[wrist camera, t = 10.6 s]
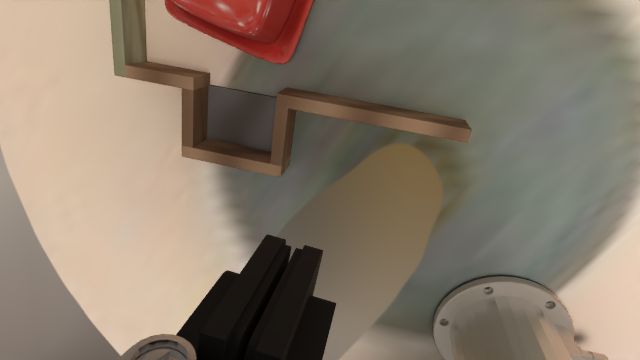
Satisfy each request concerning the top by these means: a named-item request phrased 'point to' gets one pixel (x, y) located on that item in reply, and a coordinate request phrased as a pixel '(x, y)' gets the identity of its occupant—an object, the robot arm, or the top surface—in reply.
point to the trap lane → (249, 107)
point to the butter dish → (248, 23)
